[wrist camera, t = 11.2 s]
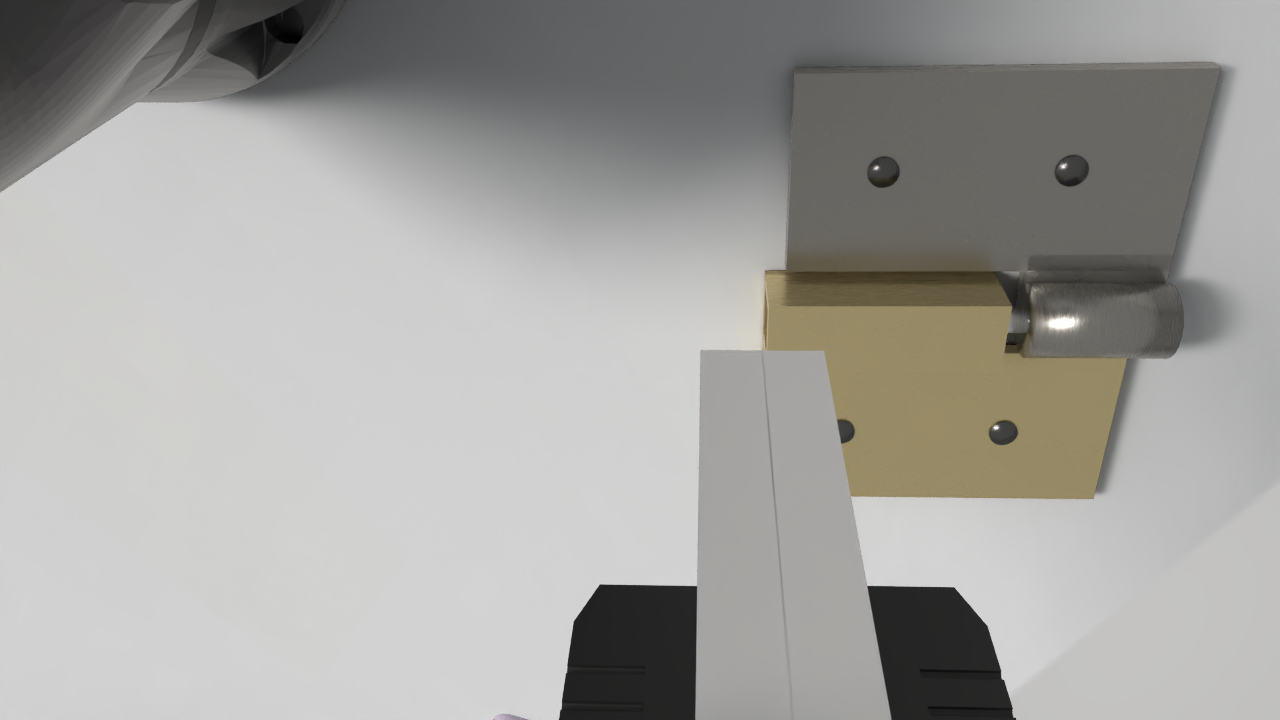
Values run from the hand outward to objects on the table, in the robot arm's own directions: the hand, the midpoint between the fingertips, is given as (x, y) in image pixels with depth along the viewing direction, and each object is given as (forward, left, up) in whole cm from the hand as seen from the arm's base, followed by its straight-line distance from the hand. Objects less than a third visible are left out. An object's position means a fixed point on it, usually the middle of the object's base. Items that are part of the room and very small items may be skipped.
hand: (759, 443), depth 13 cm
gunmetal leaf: (+10, -9, -28) cm, 31 cm away
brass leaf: (+9, -17, -28) cm, 34 cm away
